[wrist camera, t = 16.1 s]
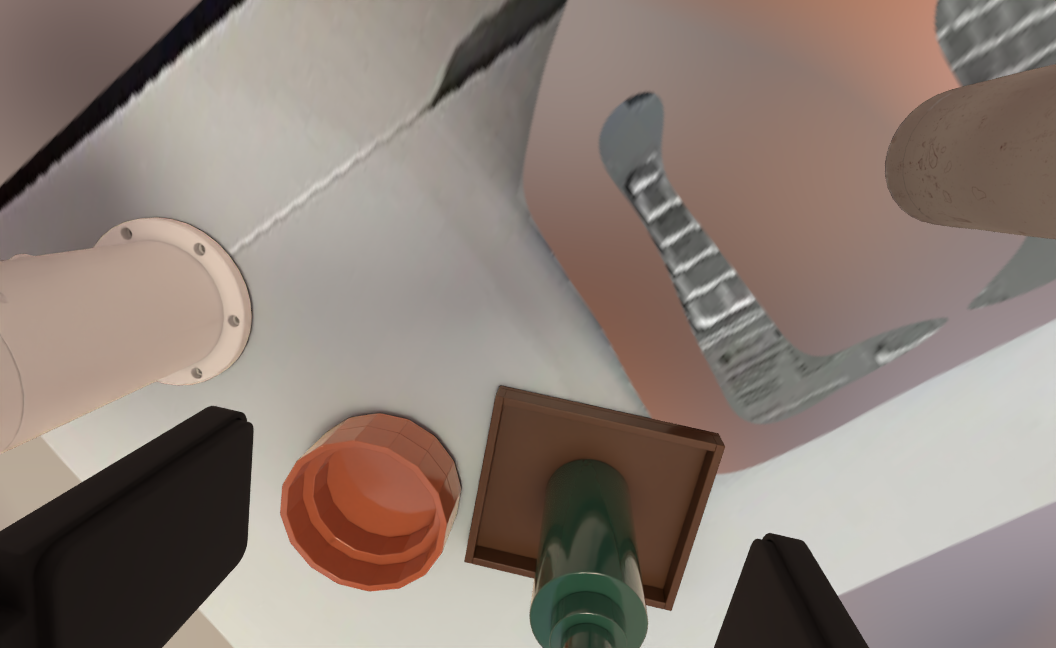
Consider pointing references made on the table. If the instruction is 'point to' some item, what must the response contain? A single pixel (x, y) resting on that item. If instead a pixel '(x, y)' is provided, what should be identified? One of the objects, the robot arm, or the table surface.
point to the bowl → (372, 502)
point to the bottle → (588, 562)
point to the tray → (605, 435)
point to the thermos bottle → (981, 156)
